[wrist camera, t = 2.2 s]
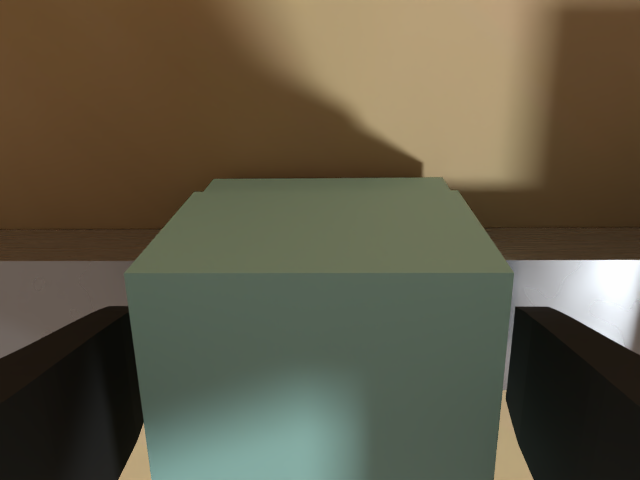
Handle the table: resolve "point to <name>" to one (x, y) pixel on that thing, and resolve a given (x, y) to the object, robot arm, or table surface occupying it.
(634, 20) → the table surface
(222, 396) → the block
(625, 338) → the rail
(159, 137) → the table surface
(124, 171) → the table surface
